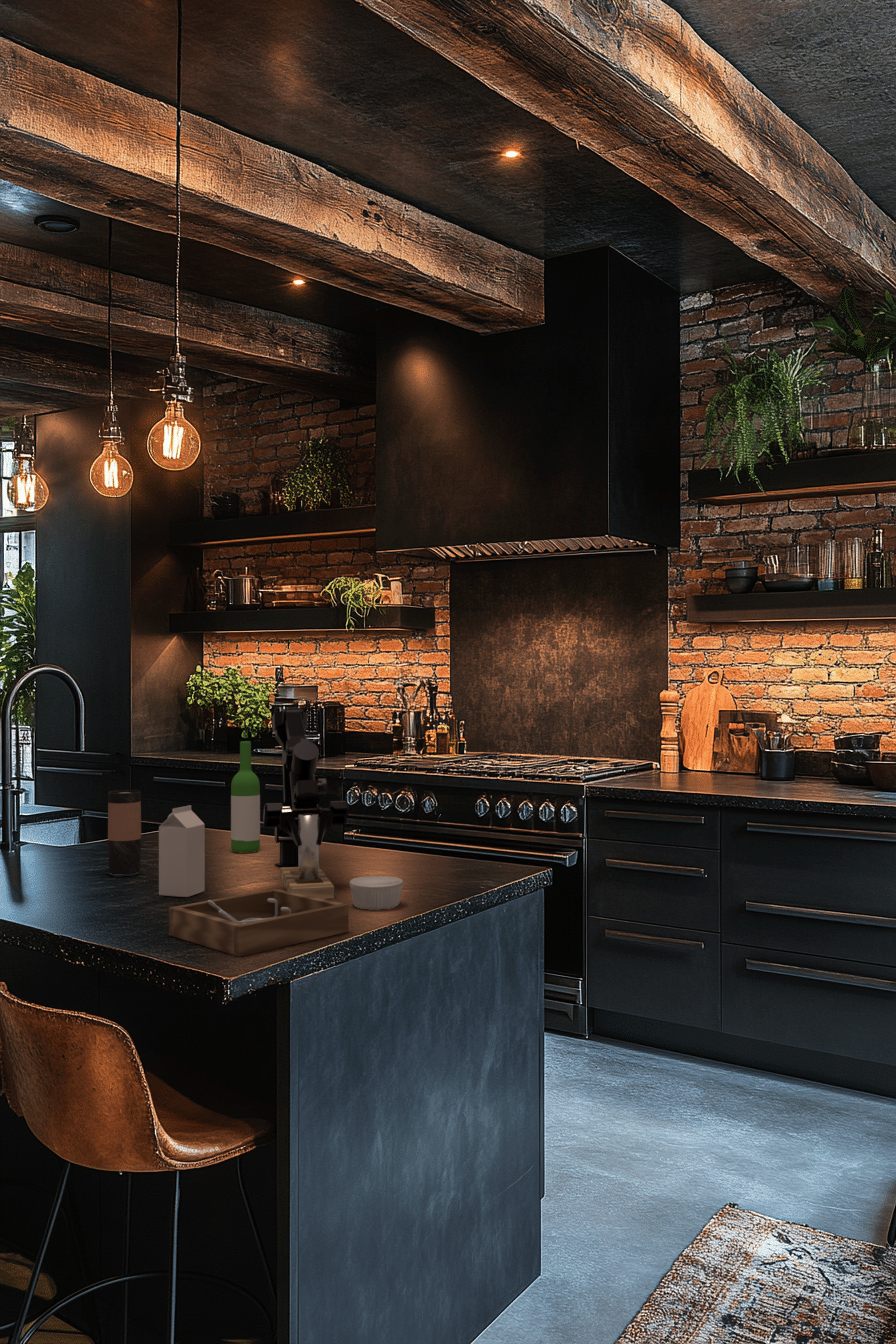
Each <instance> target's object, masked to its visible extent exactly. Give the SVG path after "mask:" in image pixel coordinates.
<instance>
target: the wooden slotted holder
mask: <svg viewBox="0 0 896 1344" xmlns="http://www.w3.org/2000/svg"><path fill="white" fill-rule="evenodd" d="M280 880H281V882H282V884H283V886H284V888H285V891H289V892H293V893H298V894H302V895H307V896H311V897H316V898H320V899H325V900H330V899H335V886H334V884H333V883H332V882H331V880H330V879H329V878H328V877H327V875H326V874H325V872H324V871H323V869H321V867H320V866H319V878H318V879H315V880H300V879H298V867H280Z"/></svg>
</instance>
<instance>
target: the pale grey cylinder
mask: <svg viewBox="0 0 896 1344" xmlns="http://www.w3.org/2000/svg"><path fill="white" fill-rule="evenodd" d="M319 820H320V819H319V814H315V813H305V814H299V815H298V835H299V846H298V879H300V880H315V879H318V878H319V867H320V864H319V861H320V859H319V858H320V857H319V856H320V855H319V854H320V853H319V852H320V851H319V846H320V845H319Z"/></svg>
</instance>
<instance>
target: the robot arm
mask: <svg viewBox="0 0 896 1344" xmlns="http://www.w3.org/2000/svg"><path fill="white" fill-rule="evenodd" d="M303 709H304V708H300V707H285V708H282V710H281V711H278V712H275V713H274V714H273V716H272V732H273V731H274V734H275V740H276V742H278V744H279V745H280V747H281V754H282V755H281V757H282V758H281V759H282V785H283V786H282V788H283V803H282V802H271V803H270V802H267V803H265V805H264V806H263V817H262V821H263V827H264V828H269V829H270V828H274V842H275V843H276V844H279V862H275V863H274V866H276V865H278V866H277V867H281V866H282V867H281V868H286V867H298V846H299V835H298V815H299V814H305V813H315V814H319V846H322V842H323V838H324V835H325V833H326V832H327V829H328V828H329V829H330V828H332V827H333V826H343V825H346V824H347V823H348V818H349V813H350V812H349V811H350V805H349V803H348V802H347V801H346V800H335V801H334V800H333V801H332V800H331V801H330V803H329V807H320V806H319V805H320V801H321V800H320V799H321V798H320V795H326V794H327V792H328V781H327V778H317V780H316V778H315V776H316V775H315V773H316V771H317V767H318V763H319V762H320V760H321V759H322V754H321V753H320V750H319V747H318V746H317V744H315V743H313V741H312V740H311V739H310V738H309V737H308V738H307V736H306V731H307V728H308V713H307V712H305V711H304V710H303Z"/></svg>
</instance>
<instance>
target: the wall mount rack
mask: <svg viewBox="0 0 896 1344" xmlns="http://www.w3.org/2000/svg"><path fill="white" fill-rule="evenodd" d="M211 900H212V899H208V900H206V901H207V903H208V904H209V905H210V906H212V907H214V908H216V909H217V910H218V913H219V914H220V915H221V916H223V917H224V918H226V919H228V920H229V921H233V922H237V923H240V924H244V923H249V922H254V921H259V920H264V919H269V918H274V917H277V916H278V902H277V900H275V899H272V898H269V899H268V900H267V901H268V902H271V903H275V916H272V917H267V918H249V919H244V920H242V921H237V920H236V919H234V918H233V917H232V916H230V915H229V914H227V913H226V912H225V911H223V910H222V909H221V908H219V907H218V906H217V905H216V904H215V903H214V902H212V901H211ZM281 911H288V914H291V910H290V909H289V908H288V907H282V908H281Z"/></svg>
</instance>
